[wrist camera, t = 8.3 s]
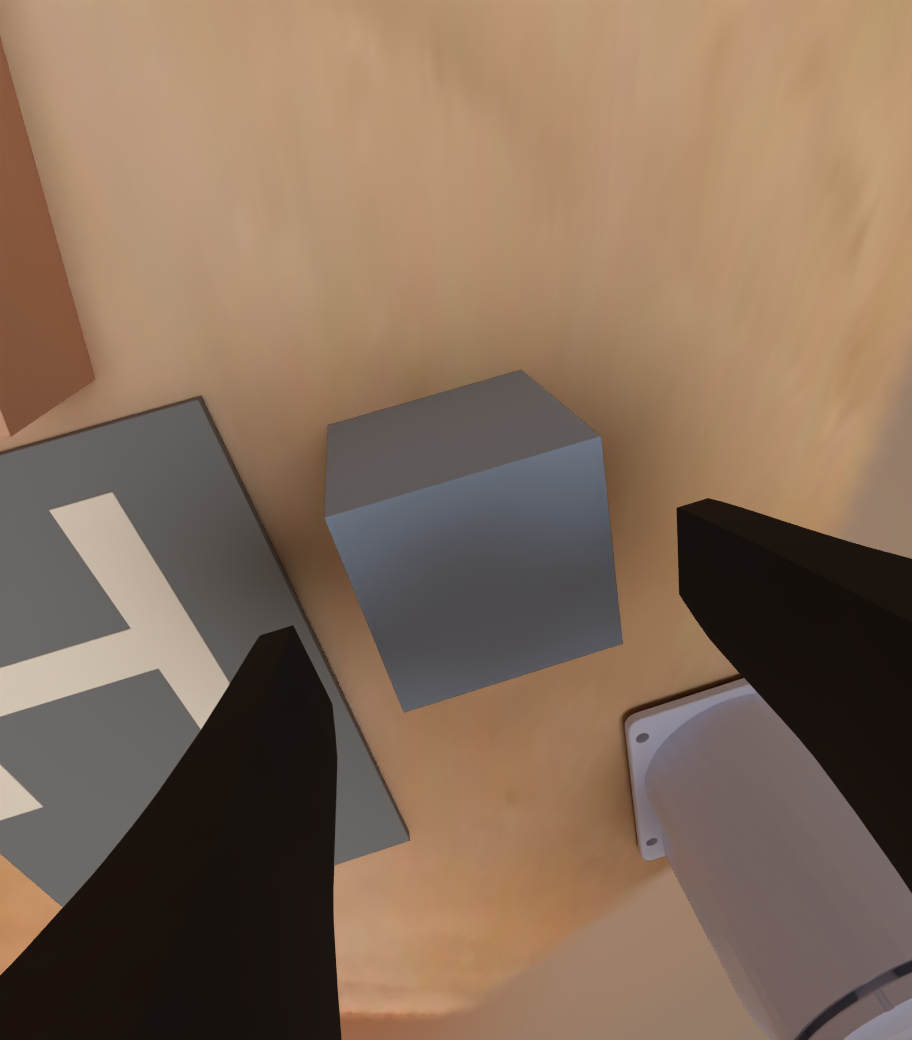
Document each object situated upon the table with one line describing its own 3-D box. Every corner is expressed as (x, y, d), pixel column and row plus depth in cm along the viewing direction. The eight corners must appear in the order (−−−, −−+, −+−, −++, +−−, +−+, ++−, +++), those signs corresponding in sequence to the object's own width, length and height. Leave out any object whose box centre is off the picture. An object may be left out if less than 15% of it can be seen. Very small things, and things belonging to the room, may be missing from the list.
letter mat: (409, 833, 22) (410, 841, 22) (105, 932, 21) (101, 942, 21) (200, 396, 13) (197, 400, 13) (-334, 546, 12) (-351, 554, 12)
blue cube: (548, 532, 17) (622, 643, 12) (386, 581, 16) (403, 712, 12) (520, 369, 14) (601, 436, 10) (327, 424, 14) (324, 518, 10)
